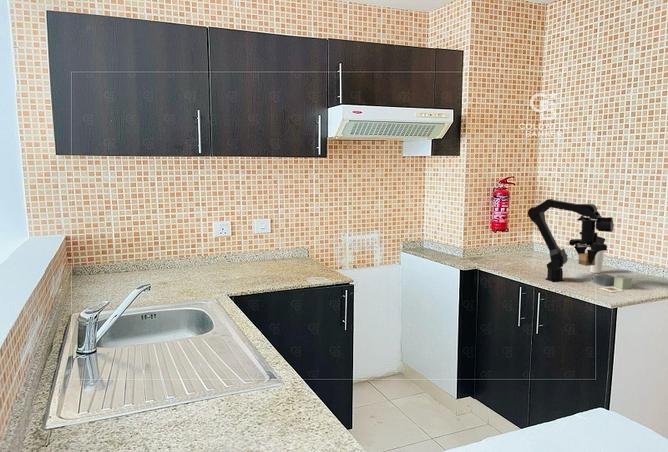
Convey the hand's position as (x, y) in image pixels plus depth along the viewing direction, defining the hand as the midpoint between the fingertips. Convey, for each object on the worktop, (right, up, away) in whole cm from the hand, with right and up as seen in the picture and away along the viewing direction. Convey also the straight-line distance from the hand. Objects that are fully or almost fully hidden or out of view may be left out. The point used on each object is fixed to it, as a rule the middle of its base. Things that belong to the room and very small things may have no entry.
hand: (586, 262), depth 241 cm
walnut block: (0, -1, 0) cm, 1 cm away
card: (+7, -12, -9) cm, 17 cm away
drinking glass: (+18, -8, +27) cm, 33 cm away
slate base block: (+10, -11, +3) cm, 15 cm away
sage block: (+14, -12, -5) cm, 19 cm away
